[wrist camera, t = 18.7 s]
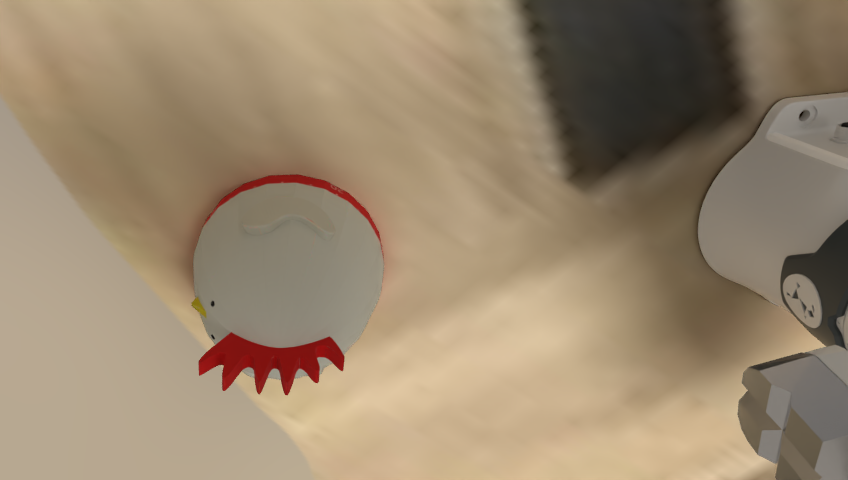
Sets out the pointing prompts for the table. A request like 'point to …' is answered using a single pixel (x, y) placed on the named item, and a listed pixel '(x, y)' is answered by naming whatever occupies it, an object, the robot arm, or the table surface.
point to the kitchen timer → (285, 279)
